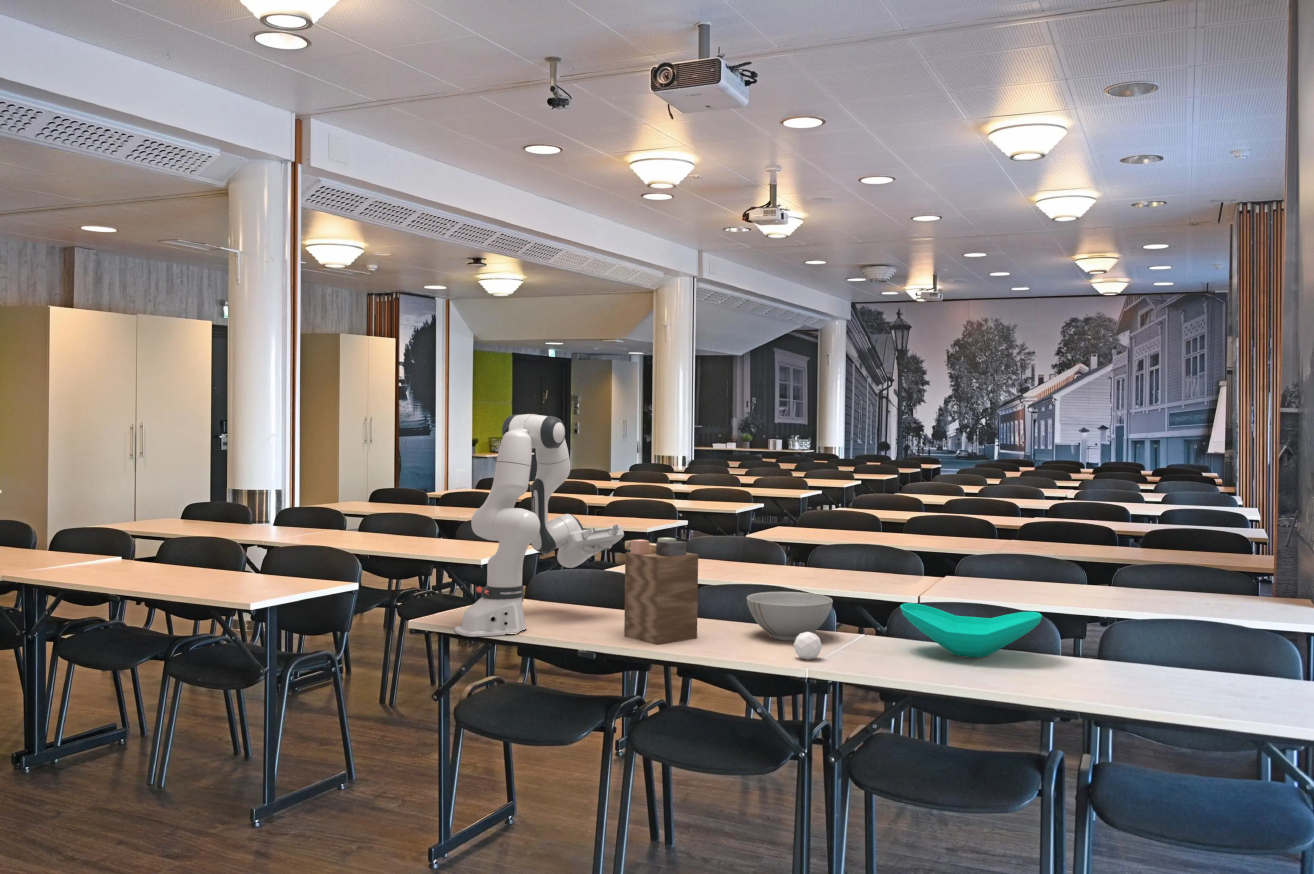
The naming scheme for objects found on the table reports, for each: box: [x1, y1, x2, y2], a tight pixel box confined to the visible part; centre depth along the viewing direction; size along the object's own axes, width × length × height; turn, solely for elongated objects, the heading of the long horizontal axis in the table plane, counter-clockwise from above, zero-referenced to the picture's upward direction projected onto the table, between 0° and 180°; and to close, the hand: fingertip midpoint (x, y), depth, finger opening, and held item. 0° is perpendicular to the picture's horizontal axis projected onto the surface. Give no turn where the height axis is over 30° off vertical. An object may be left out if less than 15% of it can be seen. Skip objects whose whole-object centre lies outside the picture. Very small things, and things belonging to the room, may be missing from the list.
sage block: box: [657, 537, 677, 542], centre depth 331 cm, size 4×4×4 cm
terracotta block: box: [630, 539, 650, 554], centre depth 324 cm, size 4×4×4 cm
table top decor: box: [899, 602, 1043, 659], centre depth 304 cm, size 40×28×13 cm
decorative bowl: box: [746, 591, 834, 641], centre depth 329 cm, size 27×27×12 cm
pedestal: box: [623, 551, 699, 646], centre depth 325 cm, size 16×16×26 cm
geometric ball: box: [793, 632, 823, 661], centre depth 297 cm, size 8×8×8 cm
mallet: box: [624, 540, 687, 557], centre depth 328 cm, size 24×7×4 cm, turn 40°
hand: (605, 528), depth 345 cm, fingers open, 8 cm apart
